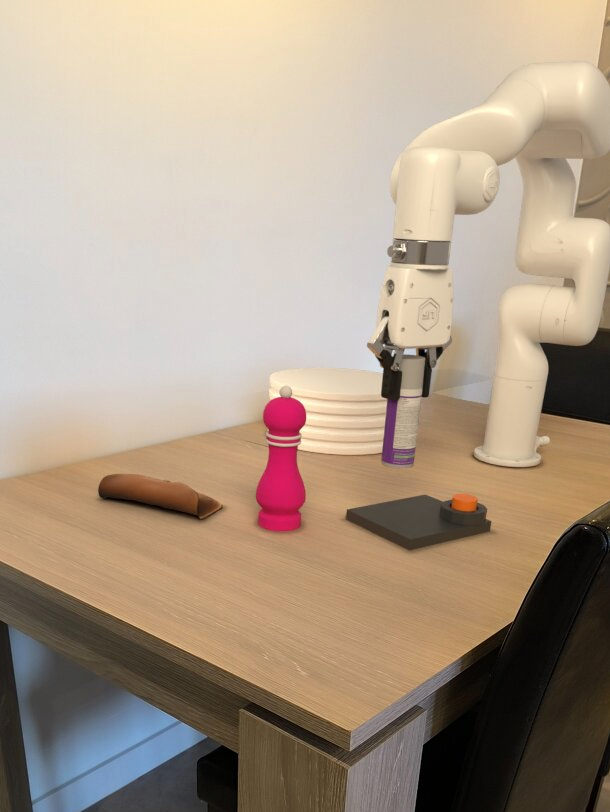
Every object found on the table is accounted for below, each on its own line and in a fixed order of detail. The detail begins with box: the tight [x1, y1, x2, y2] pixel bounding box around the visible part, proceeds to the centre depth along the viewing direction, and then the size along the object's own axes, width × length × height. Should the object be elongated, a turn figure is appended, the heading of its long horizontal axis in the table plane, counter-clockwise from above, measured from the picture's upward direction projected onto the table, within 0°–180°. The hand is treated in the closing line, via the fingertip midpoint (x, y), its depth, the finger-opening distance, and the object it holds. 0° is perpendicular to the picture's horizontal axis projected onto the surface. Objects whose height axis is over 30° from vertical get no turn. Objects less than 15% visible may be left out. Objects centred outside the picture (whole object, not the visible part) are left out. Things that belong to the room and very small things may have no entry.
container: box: [380, 353, 425, 470], centre depth 116 cm, size 5×5×15 cm
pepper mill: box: [255, 386, 307, 532], centre depth 116 cm, size 7×7×20 cm
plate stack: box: [267, 367, 387, 456], centre depth 167 cm, size 28×28×12 cm
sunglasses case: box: [97, 473, 223, 520], centre depth 126 cm, size 18×7×7 cm, turn 64°
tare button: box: [451, 493, 479, 511], centre depth 121 cm, size 4×4×2 cm
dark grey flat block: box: [345, 494, 492, 551], centre depth 122 cm, size 16×14×4 cm
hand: (404, 395), depth 115 cm, fingers closed on container, 4 cm apart
